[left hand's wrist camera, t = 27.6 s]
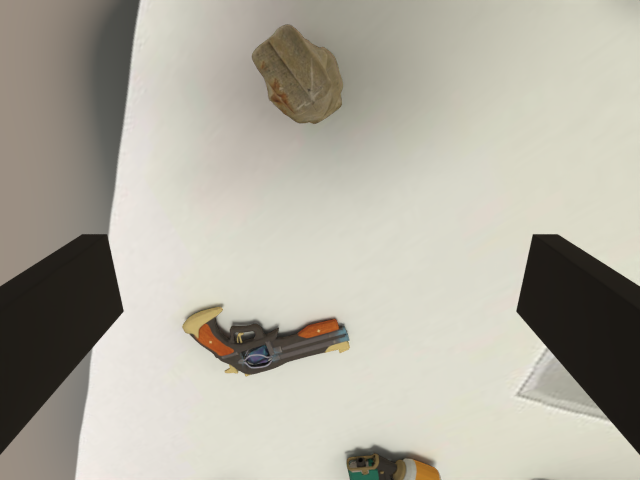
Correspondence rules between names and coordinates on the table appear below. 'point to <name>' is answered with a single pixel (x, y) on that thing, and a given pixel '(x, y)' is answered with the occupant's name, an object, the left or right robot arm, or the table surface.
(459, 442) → the table surface
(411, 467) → the spray gun
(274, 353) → the toy gun
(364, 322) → the table surface
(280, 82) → the sculpture
